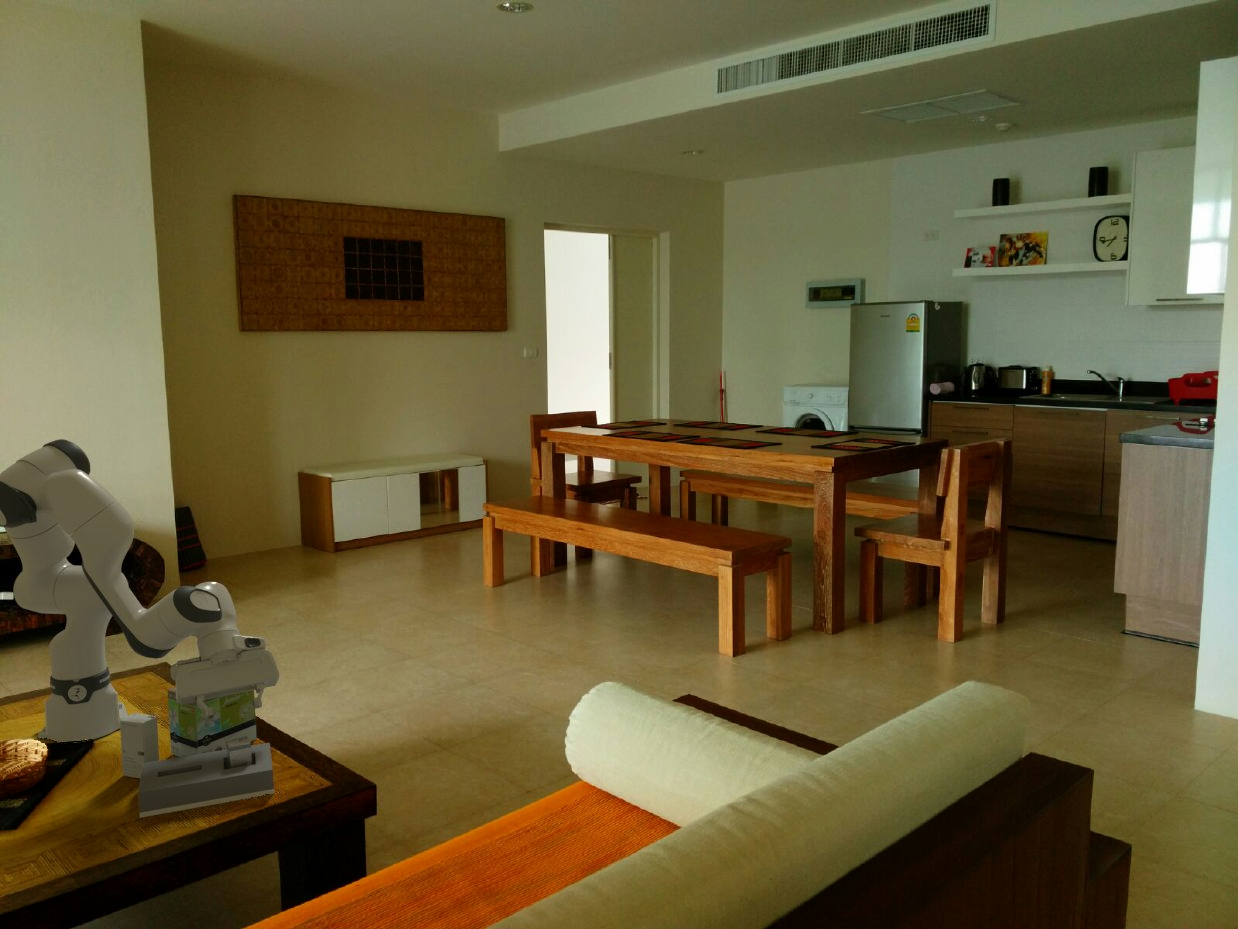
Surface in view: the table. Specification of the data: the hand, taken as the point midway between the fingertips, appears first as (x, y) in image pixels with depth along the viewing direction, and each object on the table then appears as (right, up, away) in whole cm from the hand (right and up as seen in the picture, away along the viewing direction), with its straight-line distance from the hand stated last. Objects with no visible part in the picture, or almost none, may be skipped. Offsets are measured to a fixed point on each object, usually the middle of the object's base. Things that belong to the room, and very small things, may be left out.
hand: (234, 712), depth 202 cm
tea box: (-10, -12, +15) cm, 21 cm away
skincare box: (-20, -13, +2) cm, 24 cm away
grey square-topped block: (+3, -13, -4) cm, 14 cm away
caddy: (-3, -14, -6) cm, 16 cm away
